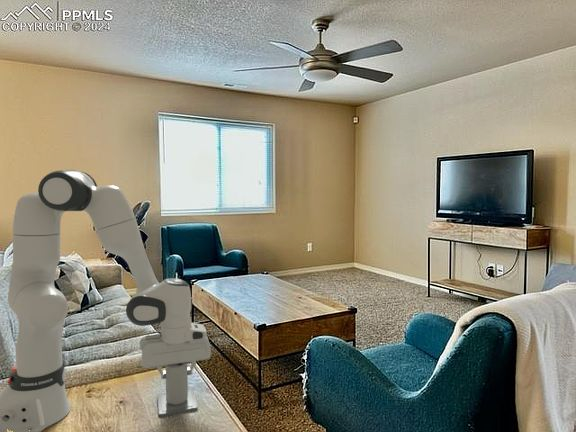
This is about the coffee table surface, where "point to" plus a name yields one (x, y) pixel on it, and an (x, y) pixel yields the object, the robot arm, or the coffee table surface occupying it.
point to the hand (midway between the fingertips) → (176, 376)
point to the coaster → (171, 409)
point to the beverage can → (176, 383)
